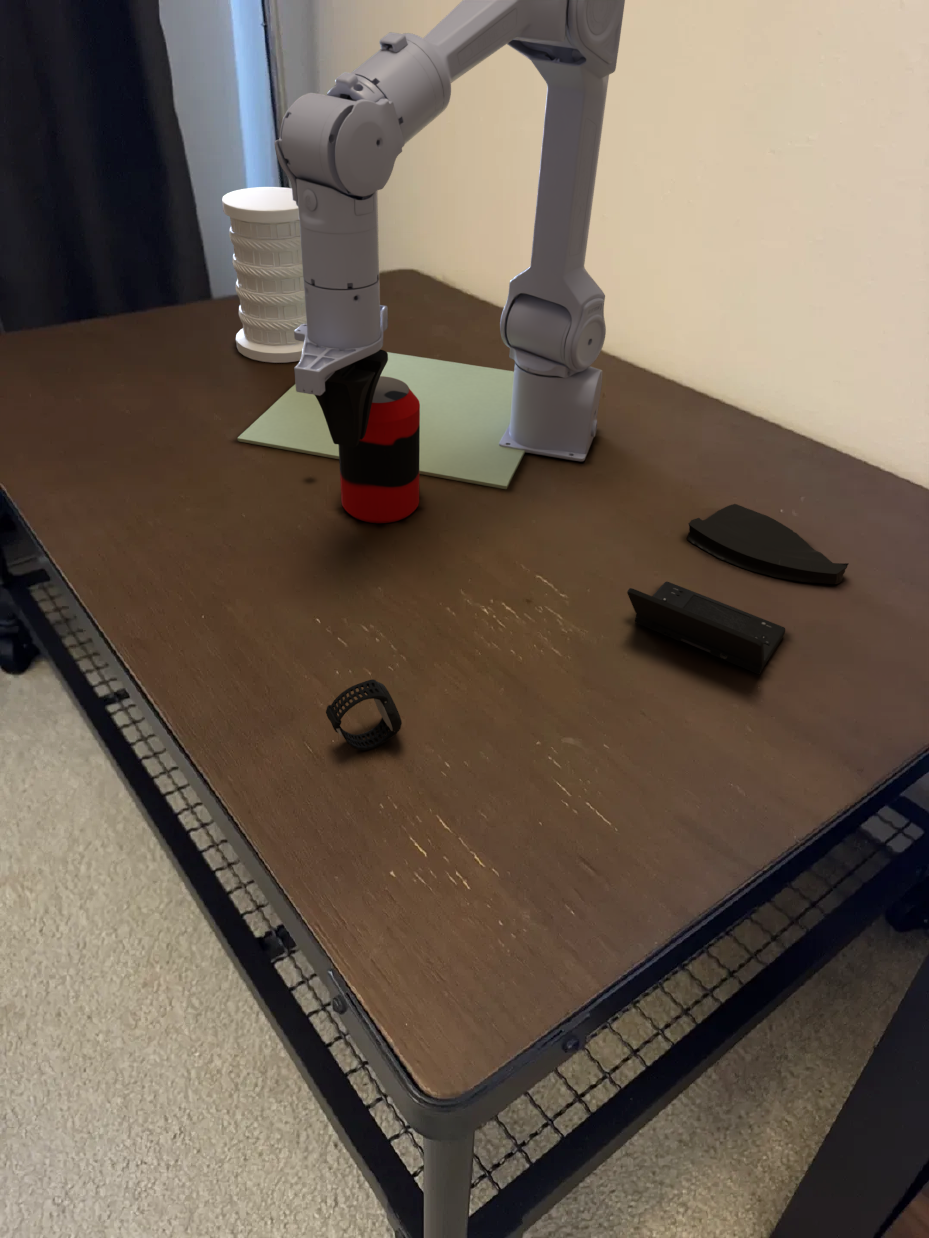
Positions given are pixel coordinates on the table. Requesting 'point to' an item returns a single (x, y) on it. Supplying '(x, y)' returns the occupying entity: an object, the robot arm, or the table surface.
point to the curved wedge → (762, 546)
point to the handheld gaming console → (708, 625)
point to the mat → (449, 420)
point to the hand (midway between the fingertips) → (349, 440)
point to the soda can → (384, 458)
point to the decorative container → (267, 272)
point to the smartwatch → (384, 706)
